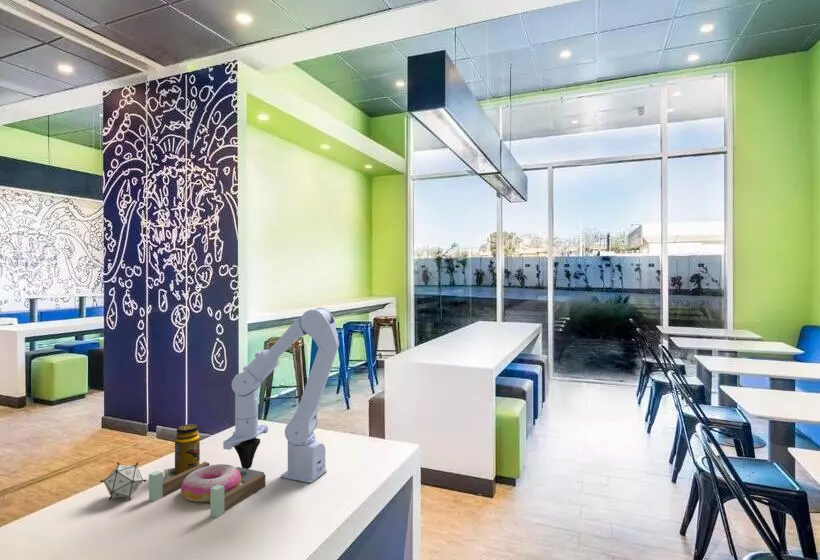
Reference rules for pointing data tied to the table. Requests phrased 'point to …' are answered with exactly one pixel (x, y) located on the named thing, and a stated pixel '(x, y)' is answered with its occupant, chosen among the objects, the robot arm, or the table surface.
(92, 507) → the table surface
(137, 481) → the game die
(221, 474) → the donut
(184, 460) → the condiment
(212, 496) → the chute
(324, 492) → the table surface
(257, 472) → the grey flat panel
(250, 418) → the robot arm
